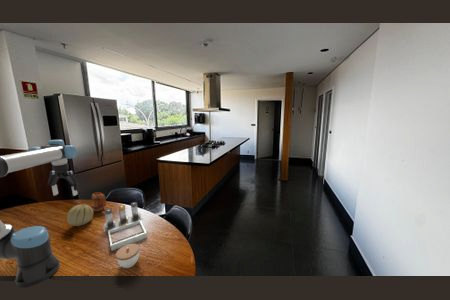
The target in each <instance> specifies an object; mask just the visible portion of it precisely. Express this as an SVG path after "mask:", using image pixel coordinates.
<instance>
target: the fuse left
mask: <svg viewBox="0 0 450 300" xmlns="http://www.w3.org/2000/svg"><path fill="white" fill-rule="evenodd" d="M104 215H105V216H104V217H105V223H106V224H107V228H108V227H110V226H114V223H113V222H114V219H113V217H114V216H113V210H112V208H107V209H105V210H104Z"/></svg>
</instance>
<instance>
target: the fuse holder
mask: <svg viewBox="0 0 450 300" xmlns="http://www.w3.org/2000/svg"><path fill="white" fill-rule="evenodd" d="M138 217H139V218H136V219H134V220H133V218H132V215H130V216H129V217H128V216H126V221H127V222H123V223H120V218H118V219H117V220H113V223H114V226H110V227H108V228H107V224H106V222H105V223H104V224H103V225H102V227H103V232H104V233H105V232H108V230H111V229H114V228H117V227H120V226H123V225H126V224H130V223H133V222H136V221H139V220H141V221H143V219H144V218H143V217H142V215H141V213H139V212H138Z"/></svg>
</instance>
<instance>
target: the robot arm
mask: <svg viewBox="0 0 450 300" xmlns="http://www.w3.org/2000/svg"><path fill="white" fill-rule="evenodd" d="M77 154H78V149H77V148H76V146H74V145H70V144H68V145H67V144H66V145H65V142H64V140H63V139H51V140H47V144H43V145H35V146H32V147H29V148H28V149H26V151H22V152H17V153H11V154H5V155H0V178H3V177H6V176H7V175H8V174H9V173H13V172H17V171H21V170H24V169H29V168H33V167H36V166H40V165H44V164H48V163H51V165H52V170H51V171H49V177H48V180H47V183H46V184H47V186H50V189H51V191H52V195H53V197H54V196H57V195H59V189H58V184H57V183H58V181H59V179H65V180H66V181H67V182H68V183H69V184H70V185H71V191H72V196H73V197H75V196H77V195H78V186H79V185H81V184H80V183H81V182H80V181H79V179H78V178H77V177H76V175H75V173H74V170H70V171H69V163H68V159H69V160H70V159H73V158H74V159H75V158H76V156H77ZM0 260H15V261H16V265H17V270H16V271H17V272H16V276H15V281H14V282H15V285H16V287H18V288H19V289H20V288H21V289H23V288H29V287H33V286H36V285H39V284H40V283H42V282H45V281H46V280H48V279H50V277H52V276H53V275H54V274H55V273H56V272H58V270H59V269H60V266H61V263H60V260H59V258H57V256H56V255H55V254H53V250H52V245H51V241H50V234H49V233H48V229H47V228H46V227H45V226H42V225H41V226H40V225H33V226H30V227H24V228H22V229H19V230H17V229H15V228H14V226H12V224H10V223H3V222H2V220H1V219H0Z"/></svg>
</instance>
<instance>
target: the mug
mask: <svg viewBox="0 0 450 300" xmlns="http://www.w3.org/2000/svg"><path fill="white" fill-rule="evenodd" d="M90 200H91V201H92V203H93V206H92V207H91V208H92V209H93V210H94V211H95V212H99V211H102V210H104V209H105V207H106V205H107V200H106V196H105V194H104V193H102V192H94V193H92V195H91V198H90Z"/></svg>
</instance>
